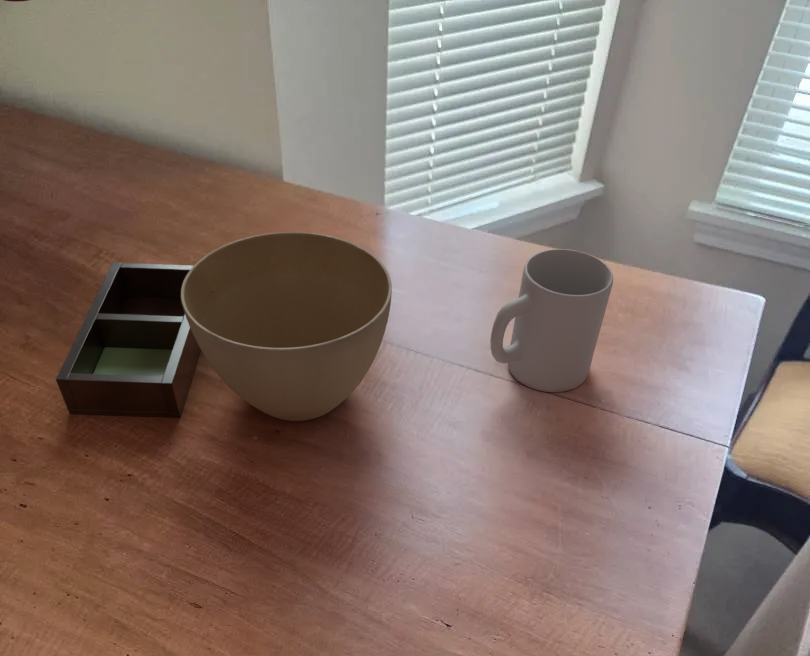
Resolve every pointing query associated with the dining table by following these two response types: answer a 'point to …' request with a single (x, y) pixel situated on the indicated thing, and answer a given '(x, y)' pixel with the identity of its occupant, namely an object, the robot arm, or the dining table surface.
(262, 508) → the dining table surface
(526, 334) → the mug
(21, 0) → the cup
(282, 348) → the beige bowl
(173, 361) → the divided storage box
